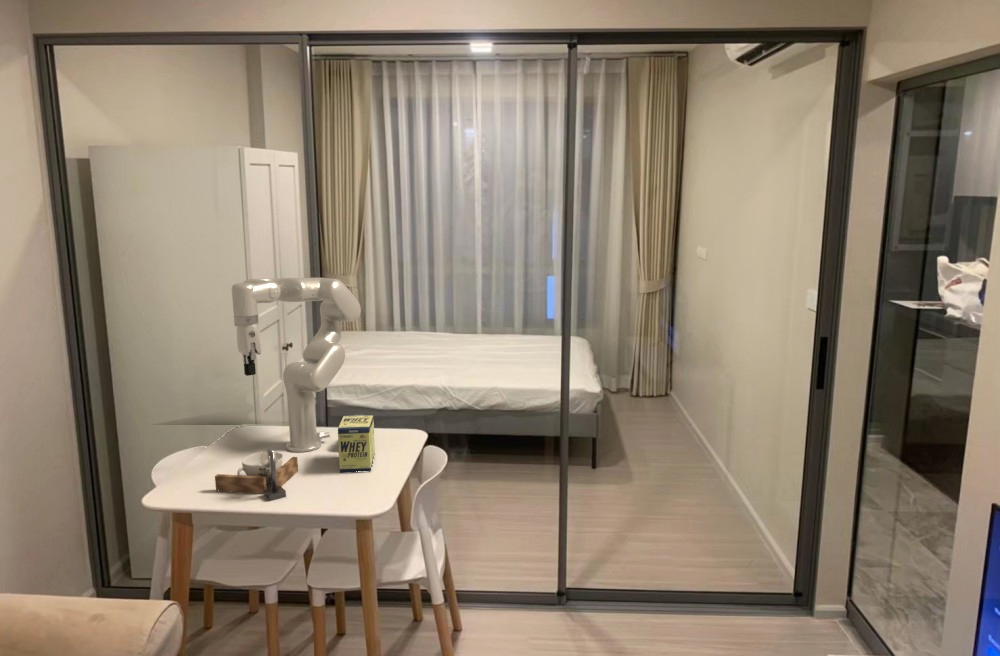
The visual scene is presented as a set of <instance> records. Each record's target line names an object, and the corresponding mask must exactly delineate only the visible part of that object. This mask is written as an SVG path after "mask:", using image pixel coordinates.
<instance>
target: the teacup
mask: <svg viewBox="0 0 1000 656" xmlns="http://www.w3.org/2000/svg"><path fill="white" fill-rule="evenodd" d="M264 452H265V451H260V452H255V453H251V454H249V455H246V456H244V457H243V459H242V460H241V465H242V466H241V467H239V468H238V470H237V474H236V475H241V472H244V473H245V476H262V477H266V485H267V484H272V479H271V468H267V467H264V466H263V465H262V464H261V462H260V458H261V455H262V454H263V453H264ZM275 452H276V451H275ZM276 453H277V455H278V462H277V463H276V465H275V466H276V471H277V470H278V469H279V468H280V467H281V466H283V456H284V455H283V454H282V453H280V452H276Z"/></svg>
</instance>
